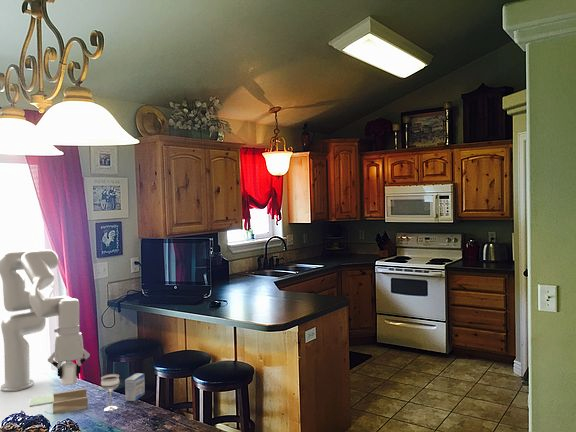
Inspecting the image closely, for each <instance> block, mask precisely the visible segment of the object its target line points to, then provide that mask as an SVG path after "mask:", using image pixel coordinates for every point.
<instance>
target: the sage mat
mask: <svg viewBox="0 0 576 432" xmlns="http://www.w3.org/2000/svg"><path fill="white" fill-rule="evenodd" d="M53 402H54V393H53V394H46V395H41V396H34V397H31V398H30V402H29V407H30V408H31V407H36V406H43V405H49V404H53Z"/></svg>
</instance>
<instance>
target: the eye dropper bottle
mask: <svg viewBox="0 0 576 432" xmlns="http://www.w3.org/2000/svg"><path fill="white" fill-rule="evenodd" d="M61 367H62V378H61V379H60V381H61V382H60V383H61V385H63V386H74V385H75V384H77V383H78V377H77V363H75V362H73V360H72V361H65V362H64V363H62V364H61Z"/></svg>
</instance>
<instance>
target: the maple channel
mask: <svg viewBox="0 0 576 432" xmlns="http://www.w3.org/2000/svg"><path fill="white" fill-rule="evenodd" d="M87 391H88V389H87V388H81V389H80V388H79V389H73V390H66V391H61V392H55V393H53V394H54V402H53V403H52V414H53V415H55V414H56V415H57V414H61V413H66V412H68V413H69V412H73V411H74V412H75V411H77V410H83V409H84V410H85V409H88V403H89V402H88V398H89V397H88V396H87V395H88V393H87Z"/></svg>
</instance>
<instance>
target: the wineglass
mask: <svg viewBox="0 0 576 432" xmlns="http://www.w3.org/2000/svg"><path fill="white" fill-rule="evenodd" d="M119 377H120V375H119V374H117V373H110V374H105V375H103V376H101V377H100V379H101V381H100V386H101V388H102V389H103V390H104V391H107V392H108V395H109V396H108V397H109V405H107V406H106V407H104V408H103V410H104V411H106V412H107V411H108V412H110V411H115V410H117V409H118V406H117V405H112V392H113V391H114V390H116V389H117V388H118V387H119V385H120V378H119Z"/></svg>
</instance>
